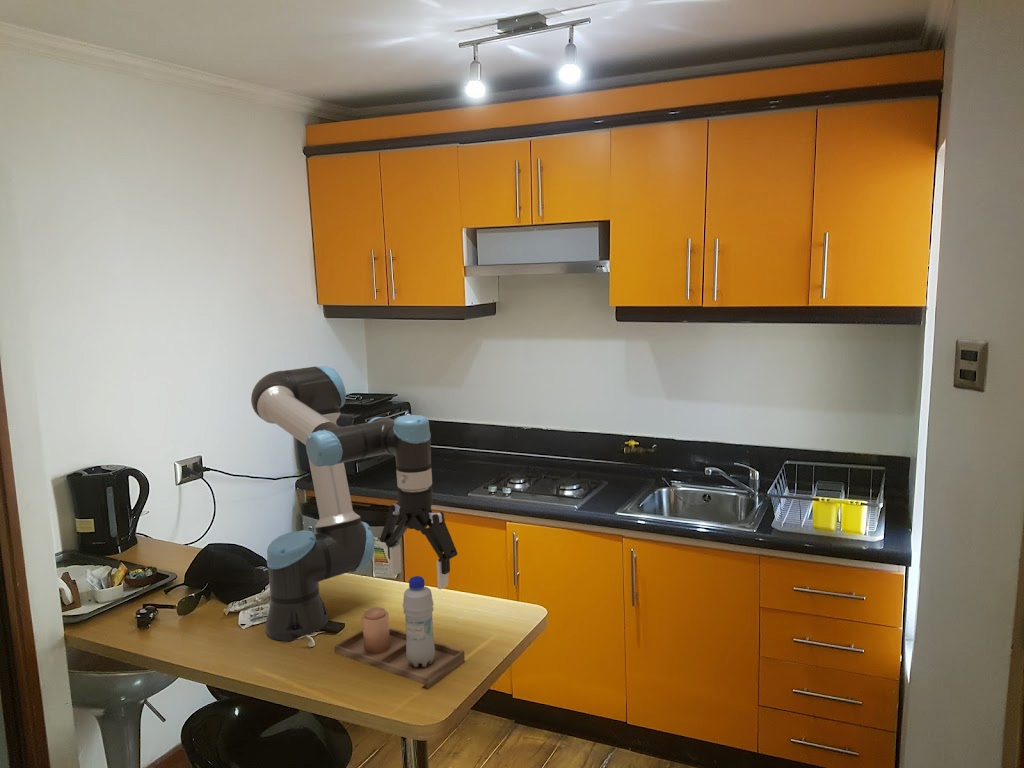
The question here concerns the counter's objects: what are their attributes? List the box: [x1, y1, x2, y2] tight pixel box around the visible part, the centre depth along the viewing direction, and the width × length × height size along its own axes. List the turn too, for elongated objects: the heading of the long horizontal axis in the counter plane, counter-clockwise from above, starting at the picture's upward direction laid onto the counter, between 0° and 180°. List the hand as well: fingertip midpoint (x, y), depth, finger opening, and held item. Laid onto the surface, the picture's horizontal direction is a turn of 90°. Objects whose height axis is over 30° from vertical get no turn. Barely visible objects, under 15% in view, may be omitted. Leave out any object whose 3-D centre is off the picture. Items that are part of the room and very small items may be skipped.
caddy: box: [334, 627, 466, 690], centre depth 173 cm, size 28×13×2 cm, turn 56°
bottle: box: [402, 575, 435, 667], centre depth 168 cm, size 7×7×20 cm
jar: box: [361, 606, 390, 654], centre depth 176 cm, size 6×6×9 cm
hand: (419, 580), depth 167 cm, fingers open, 13 cm apart
